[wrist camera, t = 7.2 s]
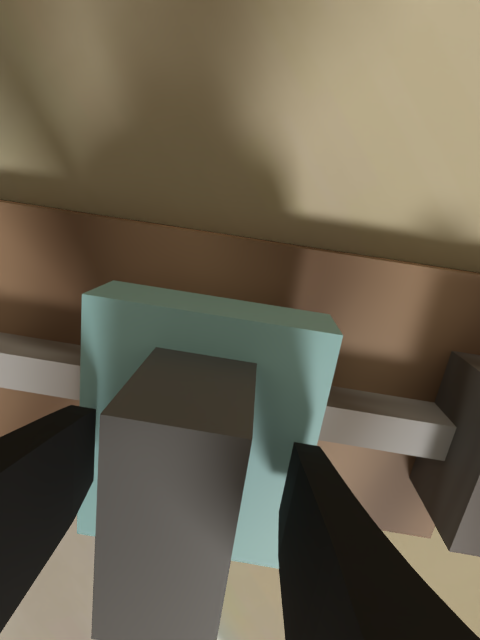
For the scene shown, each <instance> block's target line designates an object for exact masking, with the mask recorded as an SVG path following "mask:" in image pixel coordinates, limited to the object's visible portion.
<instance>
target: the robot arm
mask: <svg viewBox="0 0 480 640" xmlns="http://www.w3.org/2000/svg"><path fill="white" fill-rule="evenodd" d="M95 427H96V409H93V408H87V407H81V406H75V405H70V406H67V407H64V408H62V409H60V410H57V411H55V412H53V413H51V414H48V415H46V416H44V417H42V418H40V419H38V420H36V421H33V422H31V423H29V424H27V425H25V426H23V427H21V428H19V429H16V430H14V431H12V432H10V433H8V434H6V435H3V436H1V437H0V633H1V631H2V630H3V628H4V627H5V625H6V624H7V622H8V621H9V619H10V618H11V616H12V614H13V613H14V611H15V610H16V608H17V607H18V605H19V604H20V602H21V601H22V599H23V598H24V596H25V595H26V593H27V592H28V590H29V589H30V587H31V586H32V584H33V582H34V581H35V579H36V578H37V576H38V575H39V573H40V572H41V570H42V569H43V567H44V566H45V564H46V563H47V561H48V560H49V558H50V557H51V555H52V554H53V552H54V550H55V549H56V547H57V546H58V544H59V543H60V541H61V540H62V538H63V537H64V535H65V533H66V532H67V530H68V529H69V527H70V526H71V524H72V522H73V521H74V519H75V517H76V515H77V513H78V511H79V509H80V507H81V505H82V503H83V501H84V499H85V497H86V495H87V493H88V491H89V489H90V487H91V485H92V483H93V481H94V456H95ZM278 562H279V574H280V585H281V597H282V607H283V618H284V629H285V640H480V638H479V637H478V636H477V635H476V634H475V633H474V632H472V631H471V630H470V629H469V628H468V627H467V625H466V624H465V623H464V622H463V621H462V620H461V619H460V618H459V617H458V616H457V615H456V614H455V613H454V612H453V611H452V610H451V609H450V608H449V607H448V606H447V605H446V603H445V602H444V601H443V600H442V599H441V598H440V597H439V596H438V595H437V594H436V593H435V592H434V591H433V590H432V589H431V588H430V587H429V586H428V584H427V583H426V582H425V581H424V580H423V579H422V578H421V577H420V576H419V574H418V573H417V572H416V571H415V570H414V569H413V568H412V567H411V565H410V564H409V563H408V562H407V561H406V559H405V558H404V557H403V556H402V555H401V553H400V552H399V551H398V550H397V549H396V548H395V546H394V545H393V544H392V543H391V542H390V540H389V539H388V538H387V537H386V536H385V534H384V533H383V532H382V531H381V529H380V528H379V527H378V526H377V524H376V523H375V522H374V521H373V519H372V518H371V517H370V515H369V514H368V513H367V511H366V510H365V509H364V507H363V506H362V505H361V503H360V502H359V501H358V499H357V498H356V497H355V495H354V494H353V493H352V491H351V490H350V488H349V487H348V486H347V484H346V483H345V481H344V480H343V479H342V477H341V476H340V474H339V473H338V471H337V470H336V469H335V467H334V466H333V464H332V463H331V461H330V460H329V458H328V457H327V456H326V454H325V453H324V451H323V450H322V449H321V447H320V446H316V445H310V444H304V443H298V442H294V444H293V448H292V453H291V458H290V462H289V467H288V471H287V476H286V481H285V485H284V490H283V494H282V499H281V504H280V508H279V522H278Z"/></svg>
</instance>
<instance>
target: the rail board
mask: <svg viewBox="0 0 480 640" xmlns="http://www.w3.org/2000/svg"><path fill="white" fill-rule="evenodd" d="M113 280H115V281H121V282H127V283H134V284H140V285H147V286H153V287H159V288H166V289H172V290H178V291H185V292H191V293H197V294H204V295H210V296H217V297H223V298H229V299H236V300H242V301H248V302H255V303H261V304H267V305H274V306H280V307H287V308H293V309H299V310H306V311H312V312H318V313H325V314H330V316H331V317H332V319H333V320H334V322H335V323H336V325H337V326H338V328H339V329H340V331H341V333H342V334H343V339H342V343H341V347H340V351H339V355H338V359H337V364H336V368H335V372H334V376H333V380H332V385H331V389H330V393H329V397H328V401H327V405H326V410H325V414H324V418H323V422H322V426H321V430H320V435H319V439H318V443H317V446H320V447H321V449H322V450H323V451H324V453H325V454H326V456H327V457H328V458H329V460H330V461H331V463H332V464H333V466H334V467H335V469H336V470H337V471H338V473H339V474H340V476H341V477H342V479H343V480H344V481H345V483H346V484H347V486H348V487H349V488H350V490H351V491H352V493H353V494H354V495H355V497H356V498H357V499H358V501H359V502H360V503H361V505H362V506H363V507H364V509H365V510H366V511H367V513H368V514H369V515H370V517H371V518H372V519H373V521H374V522H375V523H376V524H377V526H378V527H379V528H380V529H381V530H383V531H389V532H395V533H401V534H407V535H413V536H418V537H424V538H431V535H432V533H433V530H434V527H435V526H436V528H437V530H438V532H439V534H440V535H441V537H442V539H443V541H444V543H445V545H446V546H447V548H448V550H449V551H450V552H456V553H462V554H467V555H473V556H479V557H480V273H476V272H469V271H463V270H456V269H450V268H443V267H437V266H430V265H423V264H417V263H410V262H404V261H397V260H391V259H384V258H378V257H371V256H365V255H358V254H351V253H345V252H338V251H332V250H325V249H319V248H312V247H306V246H299V245H293V244H286V243H279V242H273V241H266V240H260V239H253V238H247V237H240V236H234V235H227V234H221V233H214V232H207V231H201V230H194V229H188V228H181V227H175V226H168V225H162V224H155V223H149V222H142V221H135V220H129V219H122V218H116V217H109V216H103V215H96V214H90V213H83V212H77V211H70V210H63V209H57V208H50V207H44V206H37V205H31V204H24V203H18V202H11V201H5V200H0V437H1V436H3V435H6V434H8V433H10V432H12V431H14V430H16V429H19V428H21V427H23V426H25V425H27V424H29V423H31V422H33V421H36V420H38V419H40V418H42V417H44V416H46V415H48V414H51V413H53V412H55V411H57V410H60V409H62V408H64V407H67V406H70V405H75V406H80V359H81V309H82V294H83V293H85V292H87V291H90V290H92V289H94V288H97V287H99V286H101V285H104V284H106V283H108V282H111V281H113Z"/></svg>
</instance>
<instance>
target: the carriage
mask: <svg viewBox="0 0 480 640" xmlns="http://www.w3.org/2000/svg"><path fill="white" fill-rule="evenodd" d="M342 339H343V334H342V333H341V331H340V329H339V328H338V326H337V325H336V323H335V322H334V320H333V319H332V317H331V316H330V314H325V313H318V312H312V311H306V310H299V309H293V308H287V307H280V306H274V305H267V304H261V303H255V302H248V301H242V300H236V299H229V298H223V297H217V296H210V295H204V294H197V293H191V292H185V291H178V290H172V289H166V288H159V287H153V286H147V285H140V284H134V283H127V282H121V281H115V280H113V281H111V282H108V283H106V284H104V285H101V286H99V287H97V288H94V289H92V290H90V291H87V292H85V293H83V294H82V309H81V359H80V406H81V407H87V408H93V409H96V427H95V456H94V481H93V483H92V485H91V487H90V489H89V491H88V493H87V495H86V497H85V499H84V501H83V503H82V505H81V507H80V509H79V511H78V513H77V534H83V535H89V536H95V557H94V584H93V610H92V636H91V639H96V640H217V635H218V629H219V623H220V618H221V612H222V607H223V601H224V596H225V590H226V584H227V579H228V573H229V568H230V562H231V560H232V561H237V562H243V563H249V564H255V565H260V566H266V567H272V568H277V569H279V562H278V522H279V508H280V504H281V499H282V494H283V490H284V485H285V481H286V476H287V471H288V467H289V462H290V458H291V453H292V448H293V444H294V442H298V443H304V444H310V445H316V446H317V443H318V439H319V435H320V430H321V426H322V422H323V418H324V414H325V410H326V405H327V401H328V397H329V393H330V389H331V385H332V380H333V376H334V372H335V368H336V364H337V359H338V355H339V351H340V347H341V343H342Z"/></svg>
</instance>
